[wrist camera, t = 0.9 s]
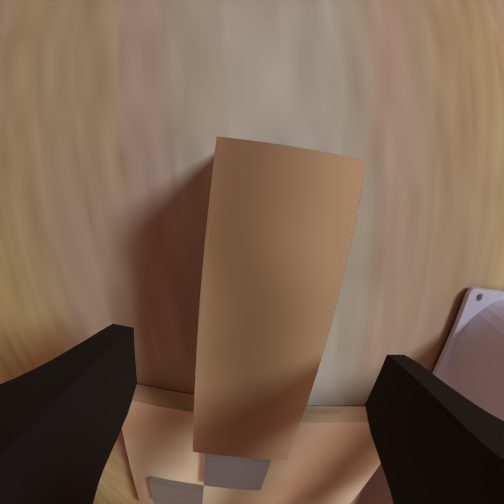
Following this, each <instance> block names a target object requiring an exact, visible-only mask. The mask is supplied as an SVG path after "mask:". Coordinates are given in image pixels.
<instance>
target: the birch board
mask: <svg viewBox="0 0 504 504" xmlns="http://www.w3.org/2000/svg"><path fill="white" fill-rule="evenodd" d="M193 418H194V395H193V394H187V393H181V392H175V391H170V390H164V389H159V388H154V387H149V386H144V385H139V384H137V385H136V389H135V392H134V396H133V399H132V402H131V406H130V409H129V412H128V415H127V417H126V419H125V421H124V424H123V426H122V432H123V437H124V442H125V446H126V451H127V455H128V459H129V464H130V468H131V472H132V476H133V480H134V483H135V487H136V491H137V494H138V498H139V501H140V504H156V503H153V499H152V494H151V489H150V484H149V480H150V476H154V477H158V478H163V479H168V480H174V481H179V482H185V483H192V484H198V485H204V473H205V461H206V454H204V453H197V452H193ZM380 464H381V462H380V459H379V456H378V453H377V450H376V447H375V444H374V442H373V439H372V436H371V433H370V428H369V423H368V418H367V412H366V407H365V406H306V408H305V410H304V413H303V416H302V419H301V422H300V425H299V428H298V430H297V433H296V436H295V439H294V441H293V444H292V447H291V449H290V452H289V455H288V457H287V460H275V459H270V465H269V468H268V471H267V474H266V476H265V479H264V482H263V485H262V487H261V490H260V491H258V490H242V489H230V488H220V487H211V486H204V489H203V502H202V504H350V503H351V502H352V501H353V499H354V498H355V497H356V496H357V494H358V493H359V492H360V491H361V489H362V488H363V487H364V485H365V484H366V483H367V481H368V480H369V479H370V477H371V476H372V475H373V473H374V472H375V471H376V469H377V468H378V466H379V465H380Z"/></svg>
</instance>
